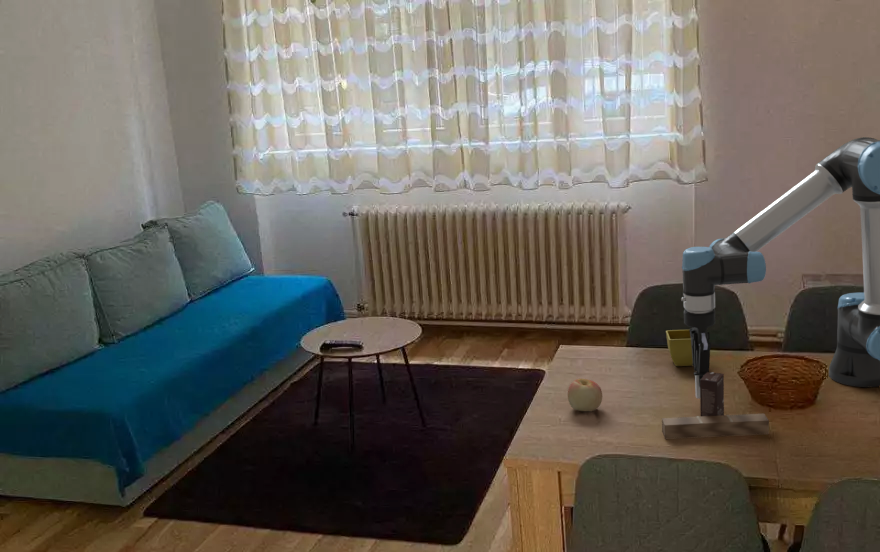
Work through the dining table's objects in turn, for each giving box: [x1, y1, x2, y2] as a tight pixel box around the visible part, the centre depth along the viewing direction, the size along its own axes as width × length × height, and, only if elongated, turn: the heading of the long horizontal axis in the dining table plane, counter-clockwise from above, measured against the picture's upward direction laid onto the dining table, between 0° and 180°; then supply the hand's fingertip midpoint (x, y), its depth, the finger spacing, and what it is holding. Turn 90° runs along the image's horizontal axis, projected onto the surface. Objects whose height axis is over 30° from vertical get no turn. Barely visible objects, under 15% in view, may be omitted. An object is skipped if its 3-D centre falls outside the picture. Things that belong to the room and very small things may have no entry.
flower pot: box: [665, 329, 693, 367], centre depth 250 cm, size 9×9×9 cm
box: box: [699, 371, 725, 417], centre depth 211 cm, size 6×4×12 cm
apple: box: [567, 378, 603, 412], centre depth 224 cm, size 9×9×8 cm
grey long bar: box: [661, 413, 770, 440], centre depth 206 cm, size 24×4×4 cm, turn 86°
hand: (701, 397), depth 221 cm, fingers closed
